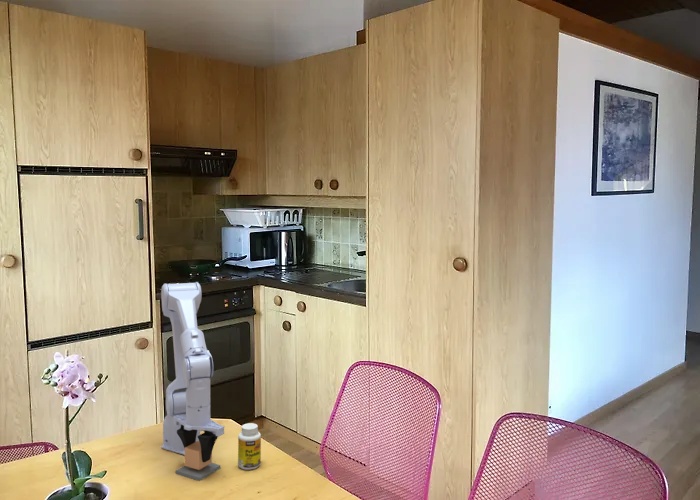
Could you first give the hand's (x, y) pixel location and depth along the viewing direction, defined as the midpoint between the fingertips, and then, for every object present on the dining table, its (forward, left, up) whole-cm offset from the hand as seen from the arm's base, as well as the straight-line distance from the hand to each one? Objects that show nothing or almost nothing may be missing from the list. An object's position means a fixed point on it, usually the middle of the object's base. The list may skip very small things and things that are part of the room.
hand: (198, 458), depth 140 cm
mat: (0, 0, -3) cm, 3 cm away
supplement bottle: (+9, +8, -3) cm, 13 cm away
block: (0, 0, -2) cm, 2 cm away
